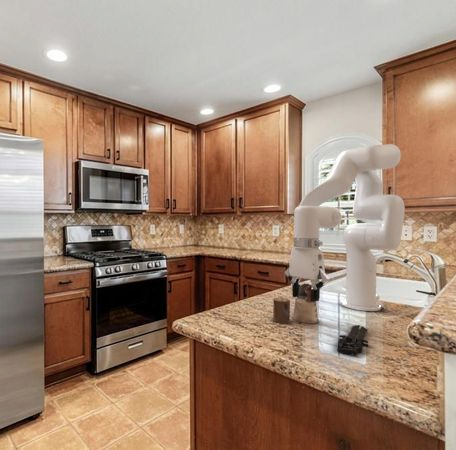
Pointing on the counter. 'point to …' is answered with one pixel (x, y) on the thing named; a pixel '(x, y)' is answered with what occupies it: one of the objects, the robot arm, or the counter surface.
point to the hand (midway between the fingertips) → (305, 298)
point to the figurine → (305, 306)
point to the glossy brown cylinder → (281, 310)
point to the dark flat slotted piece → (350, 336)
